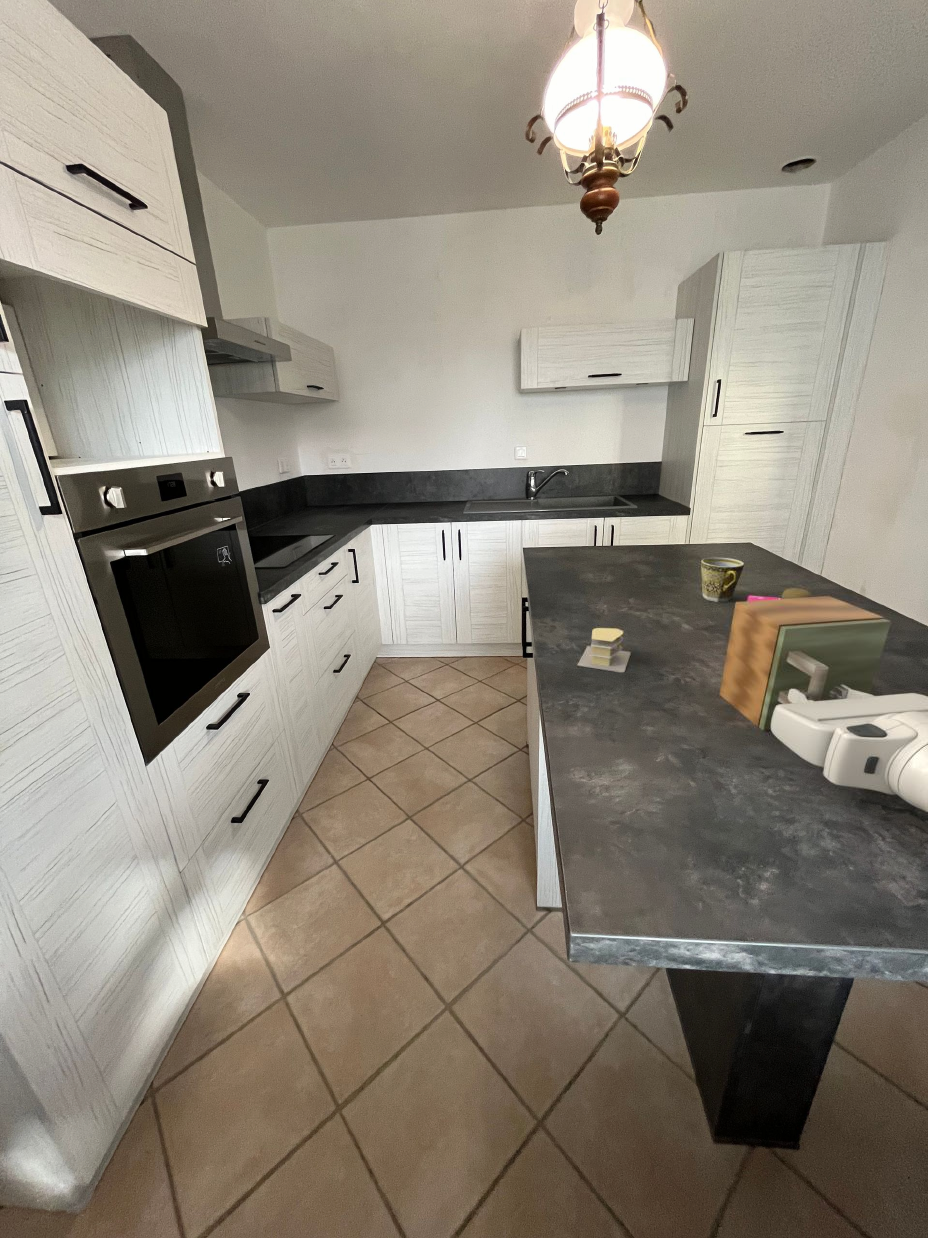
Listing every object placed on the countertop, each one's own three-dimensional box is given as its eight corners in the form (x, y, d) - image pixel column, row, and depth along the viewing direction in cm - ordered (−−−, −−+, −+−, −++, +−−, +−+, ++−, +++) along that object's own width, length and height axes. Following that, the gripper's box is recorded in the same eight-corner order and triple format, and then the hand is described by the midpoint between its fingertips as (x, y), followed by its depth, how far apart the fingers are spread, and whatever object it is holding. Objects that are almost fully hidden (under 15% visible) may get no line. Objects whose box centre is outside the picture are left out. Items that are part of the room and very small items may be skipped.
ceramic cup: (690, 592, 136) (695, 557, 132) (727, 592, 135) (733, 556, 131) (710, 608, 123) (716, 570, 120) (750, 607, 123) (758, 569, 119)
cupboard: (853, 718, 76) (883, 617, 70) (757, 727, 75) (779, 624, 69) (805, 687, 85) (828, 595, 79) (719, 694, 84) (735, 601, 78)
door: (895, 744, 69) (932, 637, 63) (790, 754, 68) (818, 645, 62) (855, 718, 76) (885, 618, 70) (758, 727, 74) (780, 626, 68)
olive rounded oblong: (766, 638, 105) (776, 589, 101) (777, 630, 109) (787, 583, 105) (798, 646, 101) (810, 596, 97) (808, 638, 105) (820, 589, 101)
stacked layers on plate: (624, 673, 93) (626, 646, 91) (577, 665, 96) (578, 640, 94) (630, 652, 101) (633, 627, 99) (587, 646, 105) (588, 622, 103)
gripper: (1008, 721, 53) (891, 664, 66) (832, 737, 51) (748, 676, 64) (988, 769, 55) (878, 705, 68) (819, 786, 53) (739, 717, 66)
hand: (814, 691), depth 66 cm, fingers open, 5 cm apart
